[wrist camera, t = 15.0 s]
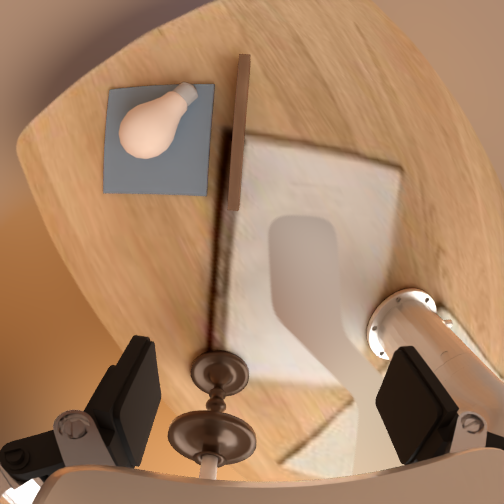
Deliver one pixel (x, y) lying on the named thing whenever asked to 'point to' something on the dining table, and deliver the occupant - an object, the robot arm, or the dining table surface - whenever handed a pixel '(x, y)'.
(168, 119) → the light bulb
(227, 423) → the candlestick
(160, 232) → the dining table surface
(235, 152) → the low wall
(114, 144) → the mat
